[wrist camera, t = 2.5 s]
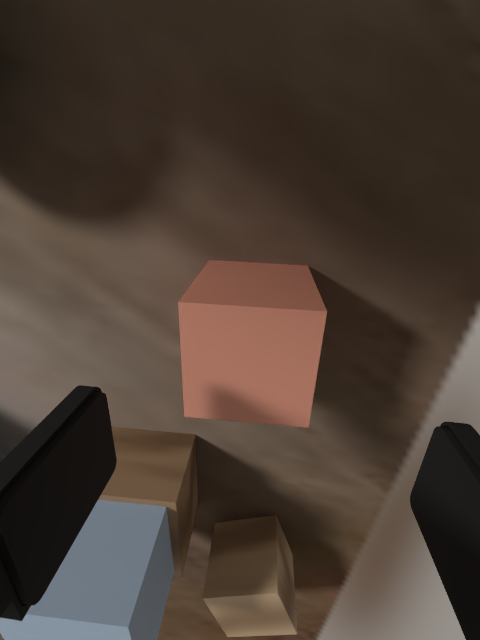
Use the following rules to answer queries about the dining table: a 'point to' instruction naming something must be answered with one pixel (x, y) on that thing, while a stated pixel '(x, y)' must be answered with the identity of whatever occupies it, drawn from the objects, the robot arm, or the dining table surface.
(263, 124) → the dining table surface
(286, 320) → the salmon orange block
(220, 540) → the block
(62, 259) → the dining table surface
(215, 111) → the dining table surface
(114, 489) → the tower base
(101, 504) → the tower top
